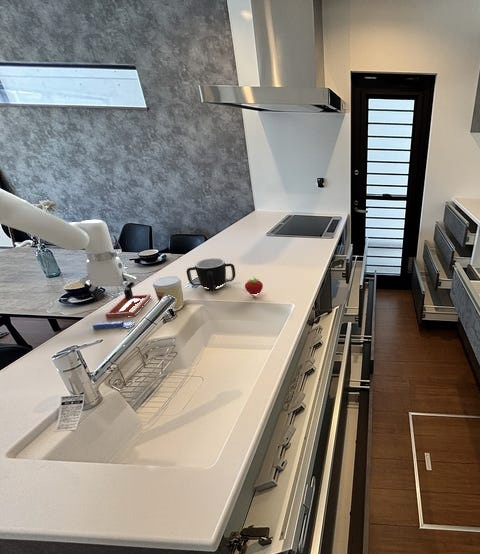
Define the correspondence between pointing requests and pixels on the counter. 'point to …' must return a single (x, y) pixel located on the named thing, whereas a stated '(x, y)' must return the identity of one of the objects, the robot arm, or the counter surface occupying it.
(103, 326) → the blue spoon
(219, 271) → the mug
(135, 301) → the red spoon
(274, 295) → the counter surface
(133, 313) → the red tray
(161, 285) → the coffee cup
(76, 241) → the robot arm
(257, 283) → the strawberry
